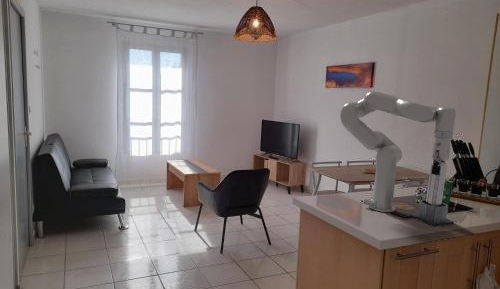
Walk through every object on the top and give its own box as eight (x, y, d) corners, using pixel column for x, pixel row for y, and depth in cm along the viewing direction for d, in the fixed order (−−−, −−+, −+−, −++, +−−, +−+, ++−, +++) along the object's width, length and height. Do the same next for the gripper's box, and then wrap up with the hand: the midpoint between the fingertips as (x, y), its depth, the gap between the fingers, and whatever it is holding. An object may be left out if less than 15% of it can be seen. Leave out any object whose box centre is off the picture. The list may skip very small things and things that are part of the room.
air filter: (442, 215, 167) (450, 163, 164) (434, 217, 164) (442, 163, 160) (429, 211, 173) (436, 160, 169) (421, 213, 169) (428, 160, 166)
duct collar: (433, 226, 160) (435, 208, 159) (410, 216, 172) (412, 200, 171) (453, 223, 165) (456, 206, 164) (429, 214, 177) (431, 198, 176)
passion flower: (416, 211, 198) (408, 191, 203) (434, 208, 199) (426, 188, 204) (425, 206, 188) (416, 184, 193) (444, 202, 189) (436, 181, 194)
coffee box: (449, 204, 198) (453, 181, 196) (449, 205, 195) (453, 181, 193) (433, 201, 202) (436, 178, 200) (433, 202, 199) (436, 179, 198)
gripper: (446, 136, 154) (440, 177, 157) (457, 135, 167) (451, 173, 169) (428, 134, 159) (422, 174, 162) (439, 133, 172) (434, 170, 174)
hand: (437, 173), depth 166 cm, fingers closed on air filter, 6 cm apart
